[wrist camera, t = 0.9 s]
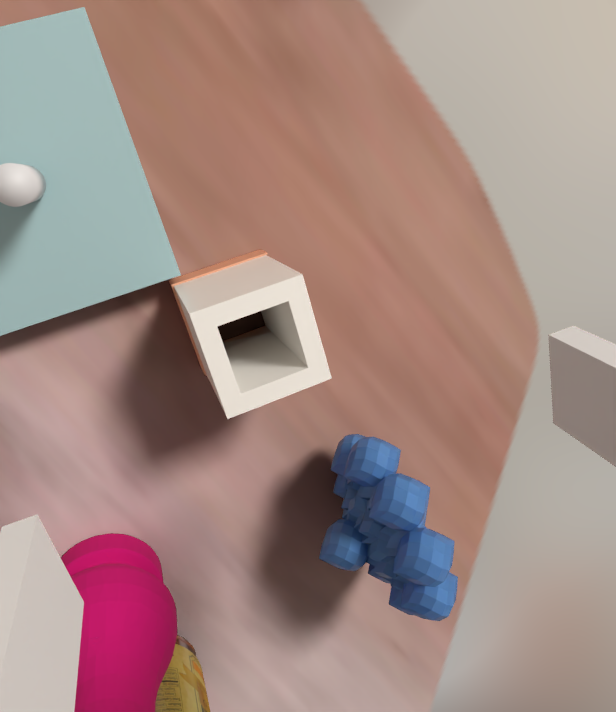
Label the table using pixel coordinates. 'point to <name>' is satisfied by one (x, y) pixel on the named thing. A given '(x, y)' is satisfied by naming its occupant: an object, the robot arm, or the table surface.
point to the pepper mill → (121, 623)
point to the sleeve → (257, 347)
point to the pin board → (68, 179)
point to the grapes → (389, 529)
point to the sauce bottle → (182, 682)
